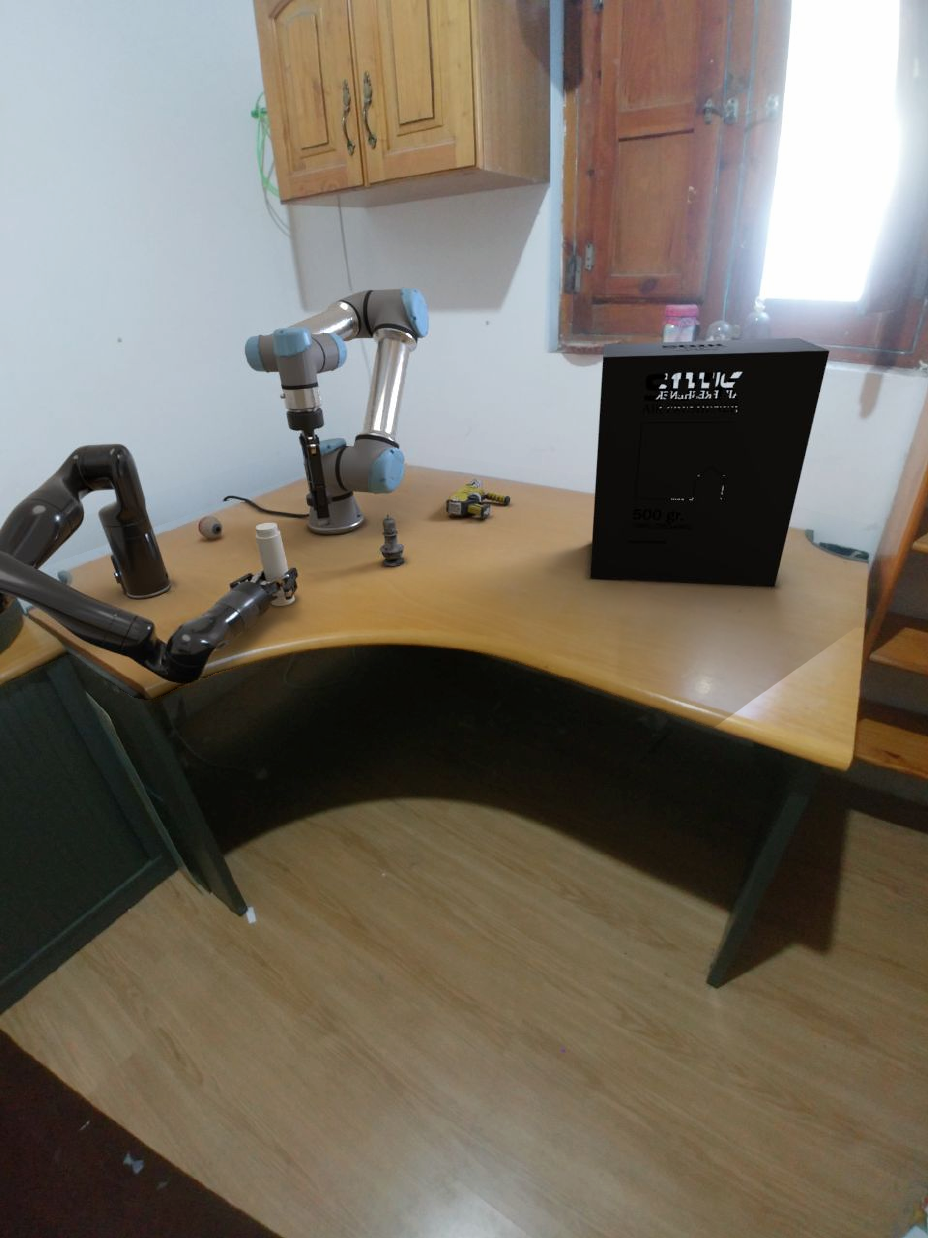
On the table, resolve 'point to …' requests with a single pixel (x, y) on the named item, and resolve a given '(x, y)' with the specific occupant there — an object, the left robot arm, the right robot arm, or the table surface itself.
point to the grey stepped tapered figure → (391, 544)
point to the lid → (312, 503)
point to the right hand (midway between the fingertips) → (321, 513)
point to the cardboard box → (701, 458)
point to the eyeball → (210, 527)
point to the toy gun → (473, 500)
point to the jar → (272, 556)
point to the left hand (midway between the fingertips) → (283, 570)
